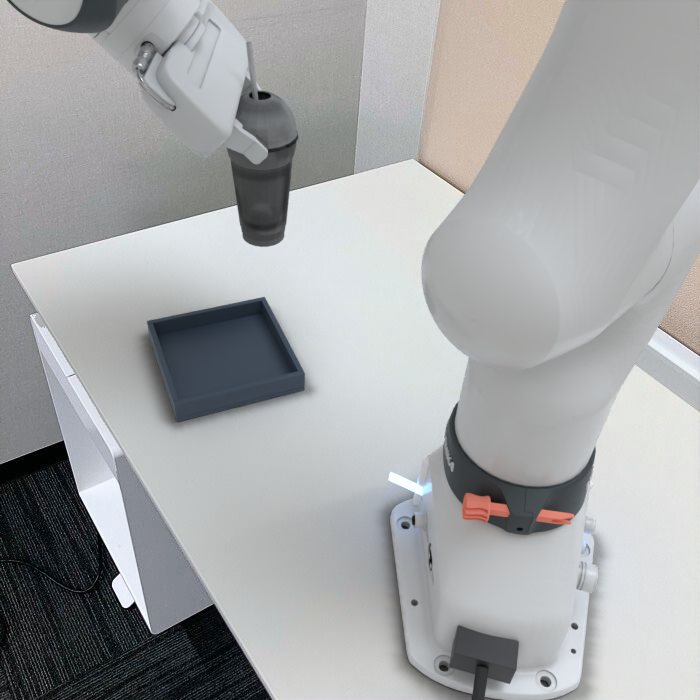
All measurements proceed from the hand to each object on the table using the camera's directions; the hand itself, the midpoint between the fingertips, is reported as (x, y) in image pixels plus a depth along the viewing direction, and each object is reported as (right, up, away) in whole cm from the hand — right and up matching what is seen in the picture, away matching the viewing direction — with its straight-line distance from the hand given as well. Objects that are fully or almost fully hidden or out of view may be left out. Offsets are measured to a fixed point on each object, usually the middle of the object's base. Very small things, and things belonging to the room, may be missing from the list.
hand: (267, 135), depth 72 cm
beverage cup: (-1, -9, +8) cm, 12 cm away
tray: (-6, -22, +13) cm, 26 cm away
